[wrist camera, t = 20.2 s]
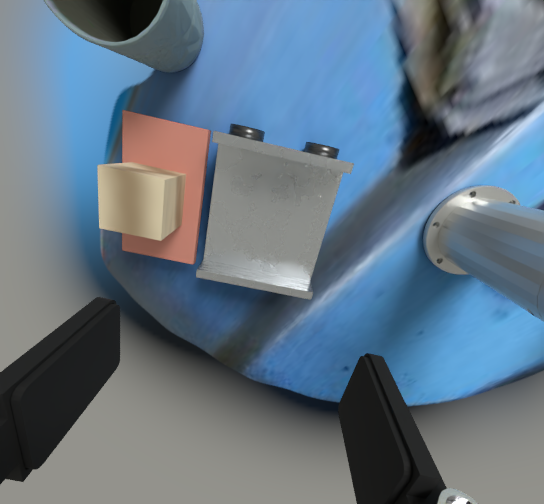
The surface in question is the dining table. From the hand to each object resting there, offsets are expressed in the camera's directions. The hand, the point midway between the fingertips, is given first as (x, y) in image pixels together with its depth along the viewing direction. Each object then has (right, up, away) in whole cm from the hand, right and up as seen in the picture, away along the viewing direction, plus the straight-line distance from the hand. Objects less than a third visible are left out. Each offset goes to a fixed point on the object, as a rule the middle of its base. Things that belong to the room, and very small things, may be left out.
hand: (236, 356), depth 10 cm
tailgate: (-7, +10, +21) cm, 24 cm away
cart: (+1, +10, +26) cm, 27 cm away
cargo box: (-12, +11, +20) cm, 26 cm away
